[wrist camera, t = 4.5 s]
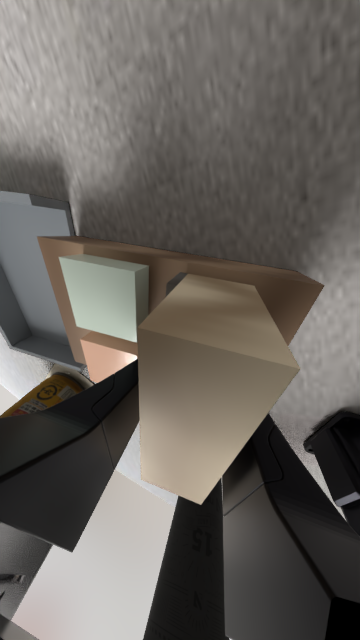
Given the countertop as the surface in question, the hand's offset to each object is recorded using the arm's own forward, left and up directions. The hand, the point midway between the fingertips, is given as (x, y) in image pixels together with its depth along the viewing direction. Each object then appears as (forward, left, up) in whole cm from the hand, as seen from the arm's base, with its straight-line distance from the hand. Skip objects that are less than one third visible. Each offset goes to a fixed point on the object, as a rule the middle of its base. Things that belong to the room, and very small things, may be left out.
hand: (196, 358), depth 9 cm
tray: (+15, 0, -4) cm, 16 cm away
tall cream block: (0, 0, -1) cm, 1 cm away
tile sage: (+5, -2, -1) cm, 6 cm away
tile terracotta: (+5, +3, -1) cm, 6 cm away
